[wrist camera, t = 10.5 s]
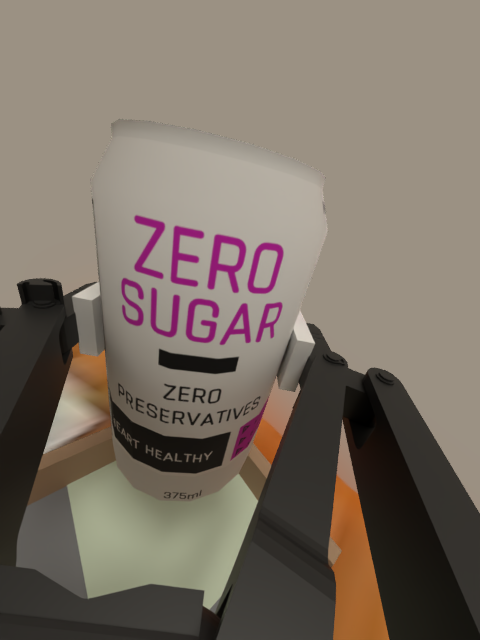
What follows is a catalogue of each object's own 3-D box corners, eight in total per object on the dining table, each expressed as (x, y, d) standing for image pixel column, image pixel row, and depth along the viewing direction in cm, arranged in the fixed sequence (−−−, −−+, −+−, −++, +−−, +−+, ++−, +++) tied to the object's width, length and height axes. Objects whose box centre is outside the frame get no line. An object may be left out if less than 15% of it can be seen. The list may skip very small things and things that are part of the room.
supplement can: (212, 376, 20) (250, 176, 13) (273, 463, 14) (395, 193, 8) (105, 406, 16) (77, 126, 9) (132, 550, 10) (115, 73, 3)
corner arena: (5, 504, 18) (-10, 476, 16) (202, 409, 30) (206, 387, 28) (11, 1066, 7) (-33, 1174, 5) (321, 571, 19) (341, 550, 17)
